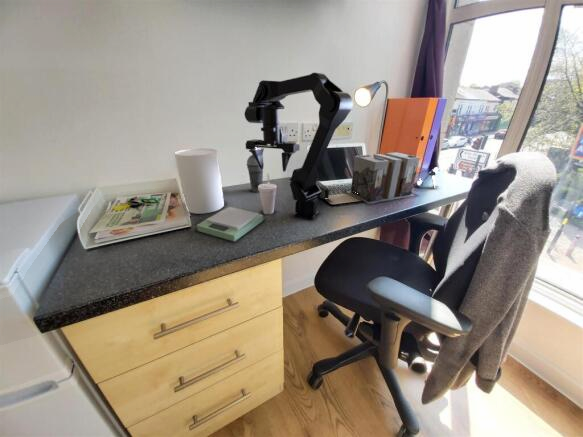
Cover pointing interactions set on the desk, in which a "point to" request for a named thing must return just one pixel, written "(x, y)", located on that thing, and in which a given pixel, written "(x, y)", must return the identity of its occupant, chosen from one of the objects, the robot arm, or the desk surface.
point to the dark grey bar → (323, 191)
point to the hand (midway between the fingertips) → (273, 170)
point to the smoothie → (267, 196)
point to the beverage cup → (254, 173)
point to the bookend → (383, 176)
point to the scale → (230, 223)
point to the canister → (200, 179)
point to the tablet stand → (427, 176)
